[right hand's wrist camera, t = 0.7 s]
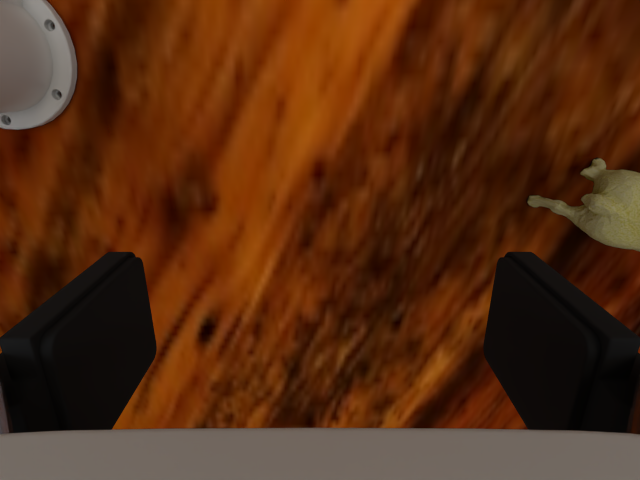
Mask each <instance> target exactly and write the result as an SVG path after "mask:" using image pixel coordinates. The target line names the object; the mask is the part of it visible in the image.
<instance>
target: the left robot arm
mask: <svg viewBox="0 0 640 480" xmlns="http://www.w3.org/2000/svg"><path fill="white" fill-rule="evenodd" d="M53 25H55V29H54V27H53ZM76 80H77V60H76V55H75V49H74V46H73V43H72V40H71V37H70V34H69V32H68V30H67V28H66V27H65V25H64V23H63V21H62V19H61V18H60V16H59V15H58V14H57V12H56V11H55V10H54V8H53V7H52V6H51V5H50V4H49V3H48V2H47V1H46V0H0V128H4V129H16V130H20V129H28V128H33V127H38V126H42V125H44V124H46V123H48V122H50V121H52V120H54V119H55V118H56V117H57V116H58V115H60V114H61V113H62V112H63V110H64V109H65V108H66V106H67V105H68V104H69V102H70V100H71V98H72V95H73V93H74V90H75V85H76ZM60 92H61V95H62V97H61V95H60Z"/></svg>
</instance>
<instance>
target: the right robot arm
mask: <svg viewBox="0 0 640 480" xmlns="http://www.w3.org/2000/svg"><path fill="white" fill-rule="evenodd" d="M0 346H1V349H2V353H1V354H0V480H640V354H639V353H638V349H639V346H640V337H638V336H637V335H636V334H635V333H633V332H632V331H631V330H630V329H628V328H627V327H626V326H625V325H623V324H622V323H621V322H619V321H618V320H617V319H616V318H614V317H613V316H612V315H611V314H609V313H608V312H607V311H606V310H604V309H603V308H602V307H600V306H599V305H598V304H597V303H595V302H594V301H593V300H592V299H590V298H589V297H588V296H587V295H585V294H584V293H583V292H582V291H580V290H579V289H578V288H576V287H575V286H574V285H573V284H571V283H570V282H569V281H568V280H566V279H565V278H564V277H563V276H561V275H560V274H559V273H558V272H556V271H555V270H554V269H552V268H551V267H550V266H549V265H547V264H546V263H545V262H544V261H542V260H541V259H540V258H539V257H537V256H536V255H535V254H533V253H532V252H508V253H507V254H506V255H505V257H501V258H499V260H498V262H497V267H496V273H495V279H494V285H493V291H492V297H491V303H490V309H489V315H488V321H487V328H486V334H485V340H484V355H485V358H486V360H487V362H488V363H489V365H490V367H491V368H492V370H493V372H494V373H495V375H496V377H497V378H498V380H499V382H500V383H501V385H502V387H503V388H504V390H505V392H506V393H507V395H508V396H509V398H510V400H511V401H512V403H513V405H514V406H515V408H516V410H517V411H518V413H519V415H520V416H521V418H522V420H523V421H524V423H525V425H526V426H527V428H528V430H515V429H436V428H204V429H125V430H112V428H113V426H114V425H115V423H116V421H117V420H118V418H119V416H120V415H121V413H122V411H123V410H124V408H125V406H126V405H127V403H128V401H129V400H130V398H131V396H132V395H133V393H134V392H135V390H136V388H137V387H138V385H139V383H140V382H141V380H142V378H143V377H144V375H145V373H146V372H147V370H148V368H149V367H150V365H151V363H152V362H153V360H154V358H155V355H156V340H155V334H154V328H153V321H152V315H151V309H150V303H149V297H148V291H147V285H146V279H145V273H144V267H143V262H142V260H141V258H139V257H135V255H134V254H133V253H132V252H108V253H107V254H105V255H104V256H103V257H101V258H100V259H99V260H98V261H96V262H95V263H94V264H93V265H91V266H90V267H89V268H88V269H86V270H85V271H84V272H82V273H81V274H80V275H79V276H77V277H76V278H75V279H74V280H72V281H71V282H70V283H69V284H67V285H66V286H65V287H64V288H62V289H61V290H60V291H58V292H57V293H56V294H55V295H53V296H52V297H51V298H50V299H48V300H47V301H46V302H45V303H43V304H42V305H41V306H40V307H38V308H37V309H36V310H34V311H33V312H32V313H31V314H29V315H28V316H27V317H26V318H24V319H23V320H22V321H21V322H19V323H18V324H17V325H15V326H14V327H13V328H12V329H10V330H9V331H8V332H7V333H5V334H4V335H3V336H2V337H0Z"/></svg>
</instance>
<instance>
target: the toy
mask: <svg viewBox="0 0 640 480" xmlns="http://www.w3.org/2000/svg"><path fill="white" fill-rule="evenodd" d="M605 169H606V164H605V161H603V160H602V159H600V158H595V159H593V160H592V162H591V164H590V166H589V168H586V169H584V170H583V171H581V172H580V174H581V175H583V176H585V178H586V179H589V180H591V181H593V182H594V186H593V192H592V193H591V194H586V195H585V196H583V197H582V198H581V200H582V202H583V203H584V205H582V206H578V207H571V206H568V205H567V204H566V203H565V202H563V201H560V200H552V199H549V198H543V197H541V196H539V195H537V196H529V197H528V200H527V202H528V204H529V206H532V207H539V206H543V207H547V208H550V209H551V210H552V212H554V213H556V214H559V215H563V216H565V217H567V218H568V219H570V220H571V221H572V222H573V223H574V224H575V225H576V226H578V227H579V228H580V229H581V230H583V231H584V232H585V233H587V234H588V235H589V236H590V237H592V238H593V239H595V240H597V241H599V242H601V243H603V244H605V245H609V246H613V247H618V248H623V249H634V250H637V251H639V252H640V173H637V172H633V171H628V170H605Z"/></svg>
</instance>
